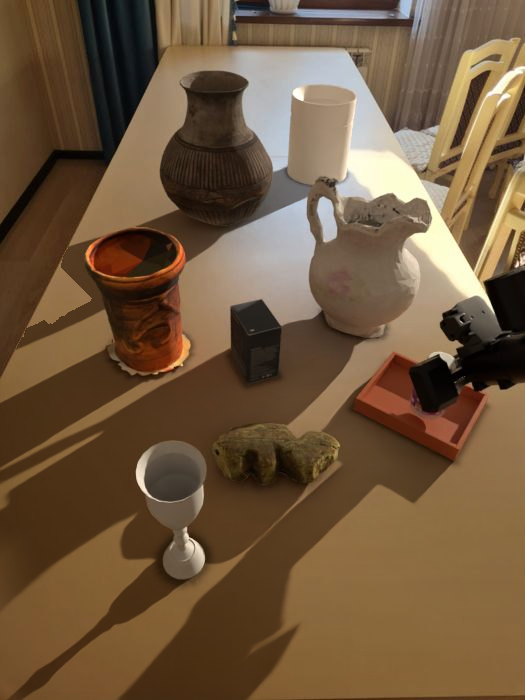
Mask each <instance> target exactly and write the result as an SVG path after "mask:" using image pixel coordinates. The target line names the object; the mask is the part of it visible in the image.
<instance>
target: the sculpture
mask: <svg viewBox="0 0 525 700" xmlns="http://www.w3.org/2000/svg"><path fill="white" fill-rule="evenodd" d="M340 445H341V444H340V443H339V441H338V440H336V438H335V437H334V436H332V435H330V434H328V433H326V432H323V431H317V430H309V431H307V432H305V433H303V434H302V435H301V436H300V437H297V436H295V434H293V432H291V430H290V429H289V427H288V426H287V424H284V423H274V422H252V423H246V424H242V425H236V426H232V427H231V428H229V429H228V431H226V432H224V433H222V434H221V435H220V436H218V439H217V440H216V441H215V442H214V443H213V444H212V450H211V451H212V453H213V456H214V459H215V461H216V464H217V466H218V467H219V469H220V470H221V471H222V473H223V475H224V477H225V478H226V479H229V480H230V481H232V482H236V483H241V482H244V481H245V480H247V479H248V477H249V476H250V475H252V476H253V477H254V479H255V482H256V484H258V485H261V486H268V485H271V484H273V483H274V482H275V481H276V480H277V478H278V474H279V473H281V474H283V475H285V476H287V477H288V478H290V479H292V480H293V481H295V482H296V483H299V484H312V483H314V482H316V481H317V480H318V478H319V477H320V476H321V475H322V474H323V473H324V472H325V471H327V470H328V468H329V467H330V466H332V464H333V463H334V462H335V461H336V460H337V459H338V455H339V454H338V453H339V450H340V447H341V446H340Z"/></svg>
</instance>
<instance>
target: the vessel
mask: <svg viewBox="0 0 525 700" xmlns="http://www.w3.org/2000/svg"><path fill="white" fill-rule="evenodd" d="M83 259H84V260H83V261H84V267H85V270H86V272H87V274H88V275H89V277H90V278H91V279H92V281H93V282H94V284H95V285H96V287H97V288H98V290H99V292H100V295H101V299H102V304H103V306H104V311H105V313H106V316H107V321H108V324H109V328H110V330H111V333H112V336H113V337H112V338H113V341H112V343H110V344H109V345H108V346H107V347H106V350H107V352H108V355H109V357H110V358H111V359H112V360H114V361H115V362H116V361H117V362H119V363H118V364H117V366H120V368H121V370H123V371H126V372H128V373H129V374H130V376H134V375H136V374H138V375H140V376H143V377H144V376H149V375H150V374H152V375H158V374H159V373H162V372H163V373H167V372H169V371H172V370H174V369H175V368H176V367H179V366H181V367H183V366H184V364H183V362H184V361H185V360H186V359H187V358H188V357H189V355H190V351H189V350H190V349H191V346H192V344H191V342H190V340H189V339H188V338H187V336H186V335H185V334H183V328H182V326H183V321H182V320H183V319H182V314H181V310H182V309H181V308H182V303H181V293H180V286H179V280H180V276H181V274H182V273H183V271H184V269H185V266H186V253H185V250H184V247H183V245H182V244H181V242H180V241H179V240H178V239H177V238H176V237H174V236H173V235H171V234H169V233H166V232H163V231H160V230H158V229H155V228H150V227H146V226H145V227H143V226H142V227H139V226H131V227H126V228H122V229H119V230H115V231H111V232H109V233H107V234H105V235H103V236H102V237H100V238H98V239H96V240H95V241H94V242H92V243H91V244H90V245H89V246H88V247H87V249H86V251H85V253H84V257H83ZM174 367H175V368H174Z"/></svg>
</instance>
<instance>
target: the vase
mask: <svg viewBox="0 0 525 700" xmlns="http://www.w3.org/2000/svg"><path fill="white" fill-rule="evenodd" d="M249 85H250V82H249V80H248V79H247V78H246V77H245V76H242V75H240V74H238V73H235V72H233V71H226V70H198V71H193V72H190V73H188V74H185V75H184V76H183V77H181V78H180V80H179V86H180V87H181V88H182V89H183V90H184V91H185V94H186V103H187V105H186V114H185V118H184V122H183V124H182V126H181V127H180V128H178V129H176V131H175V132H174V133H173V135H172V136H171V137H170V139H169V141H168V142H167V144H166V146H165V148H164V150H163V153H162V155H161V159H160V165H159V179H160V183H161V185H162V188H163V190H164V192H165V194H166V196H167V197H168V199H169V200H170V201H171V202H172V204H174V205H175V206H176V207H177V208H178V209H179V210H180V211H181V212H182V213H184V214H185V215H186V216H188V217H189V218H191V219H194V220H196V221H200V222H202V223H206V224H209V225H213V226H219V227H220V226H222V227H227V226H228V227H229V226H233V225H236V224H238V223H240V222H243V221H244V220H246V219H249V218H250V217H251V216H252V215H253V214H255V213H256V211H257V210H259V208H260V207H261V206H262V205H263V203H264V201H266V198H267V196H268V195H269V192H270V190H271V187H272V182H273V179H274V178H273V177H274V167H273V162H272V159H271V156H270V155H269V154H268V152H267V150H266V148H265V146H264V145H263V143H262V141H261V139H260V138H259V136H258V135H257V134H256V133H255V131H254V130H252V129H251V128H250V127H249V126H248V125H247V123H246V119H245V115H244V110H243V97H244V92H245V90H246V89H247V88H248V87H249Z"/></svg>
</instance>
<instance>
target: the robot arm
mask: <svg viewBox="0 0 525 700" xmlns="http://www.w3.org/2000/svg"><path fill="white" fill-rule="evenodd" d="M482 284H483V286H484V289H485V291H486V294H487V297H488V300H489V303H490V305H491V307H492V308H491V307H490V306H489V304H488V303H487V301H486V300H485V299H484V298H483V297H482V296H480V295H472V296H471V297H468V298H466V299H464V300H462V301H459V302H456V304H455V305H454V306H453V307H451V308H450V309H448V310H445V311H443V312H442V313H441V317H442V319H441V321H439V328H440V330H441V331H442V333H443V334H444V335H445V337H446V339H447V340H448V341H449V342H455V341H457V342H458V343H459V344H460V346H458V347H456V348H455V351H456V354H455V355H451V356H452V357H454V359H455V364H456V369H454V370H452V368H449V367H448V364H447V362H446V361H444V360H443V359H442V358H441V357H440V354H437V355H435V356H433V357H431V358H429V359H428V358H426V359H424V360H422V361H420V362H419V363H418V364H416V365H414V366H411V367H410V370H409V375H410V378H411V381H412V383H413V386H414V389H415V391H416V394H417V397H418V400H419V402H420V405H421V408H422V410H423V411H425V412H427V413H438V412H439V411H441V410H443V409H445V408H447V407H449V406H451V405H453V404H455V403H456V402H457V400H458V397H459V394H460V393H461V387H463V386H465V385H467V384H468V385H470V384H471V386H473V389H474V391H475V392H478V391H484V390H486V389H488V388H490V387H492V386H498V388H499V390H500V391H507V390H508V389H510V388H511V389H512V387H514V386H516V385H518V384H525V264H524V265H522V266H519V267H516V268H512V269H509V270H507V271H505V272H501V273H499V274H497V275H494V276H491V277H490V278H487V279H485V280H483V281H482ZM454 382H456V383H454Z"/></svg>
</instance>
